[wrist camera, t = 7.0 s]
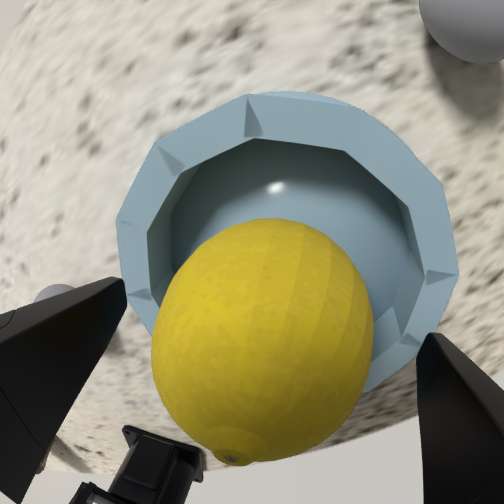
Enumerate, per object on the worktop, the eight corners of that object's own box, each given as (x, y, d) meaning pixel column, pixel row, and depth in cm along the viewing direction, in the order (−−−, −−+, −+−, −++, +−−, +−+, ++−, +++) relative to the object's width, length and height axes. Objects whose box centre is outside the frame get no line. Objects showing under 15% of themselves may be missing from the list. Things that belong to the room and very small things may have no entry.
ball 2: (487, 80, 8) (540, 78, 5) (405, 52, 9) (439, 32, 5) (488, 3, 7) (534, -19, 3) (407, -27, 7) (434, -67, 4)
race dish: (386, 377, 14) (391, 420, 12) (156, 336, 16) (132, 372, 14) (465, 130, 9) (503, 139, 7) (148, 87, 11) (106, 85, 8)
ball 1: (107, 331, 17) (75, 371, 14) (63, 316, 17) (30, 350, 14) (97, 279, 15) (57, 317, 12) (51, 267, 16) (11, 298, 13)
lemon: (384, 226, 11) (460, 418, 4) (318, 339, 13) (300, 522, 6) (237, 163, 11) (87, 281, 4) (196, 290, 13) (97, 450, 6)
